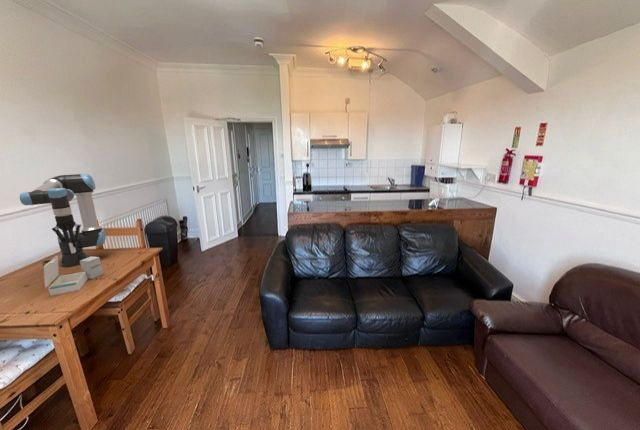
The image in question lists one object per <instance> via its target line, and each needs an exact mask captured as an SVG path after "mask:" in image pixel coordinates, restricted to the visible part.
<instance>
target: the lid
mask: <svg viewBox="0 0 640 430" xmlns="http://www.w3.org/2000/svg"><path fill="white" fill-rule="evenodd" d="M50 260H51V261H50V262H49V263H47V264H46V265H45V266H44V267H43V277H44V288H47V287H49V286H50V285H51V284H50V283H51V282H52V281H53V280H54V279H55V278H56V277H57V276H58V275H59V276H60V273H59V272H60V270H59V268H60V267H59V255H58V254H57V255H55V256H54V257H53V258H52V259H50Z"/></svg>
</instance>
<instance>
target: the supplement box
mask: <svg viewBox="0 0 640 430" xmlns="http://www.w3.org/2000/svg"><path fill="white" fill-rule="evenodd" d="M79 265H80V268H81V272H86V274H87V277H88V279H89V280H94V279H95V278H98V277H100V276H102V275H103V274H104V271H103V267H102V262H101V259H100V257H99V256H88V258H86V259H83V260H80V264H79ZM88 279H87V280H88Z"/></svg>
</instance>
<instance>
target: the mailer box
mask: <svg viewBox="0 0 640 430" xmlns="http://www.w3.org/2000/svg"><path fill="white" fill-rule="evenodd" d="M87 281H88V277H87V274H86V272H82V271H80V272H75V273H71V274H69V273H68V274H63V275H59V277H58V278H57V279H56V280H55V281H54V282H53V283H52V284H49V285H48V286H47V287H48V289H47V290H48V291H49V295H50V297H52V296H57V295H64V294H69V293H73V292H79V291H80V290H81V289H82V288H83V286H84V285H85V284H86V283H87Z"/></svg>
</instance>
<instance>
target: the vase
mask: <svg viewBox="0 0 640 430" xmlns="http://www.w3.org/2000/svg"><path fill="white" fill-rule="evenodd" d="M51 260H52V259H47V260H43V261H42V263H41V264H42V266H43V268H44V266H45V265H46V264H47V263H49V262H50V261H51ZM59 276H60V274H59V275H58V276H57V277H56V278H55V279H54V280H53V281H52V282H51V283H50V284H49V285H51V284H52V283H53V282H54V281H55V280H56V279H57V278H58V277H59Z"/></svg>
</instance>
